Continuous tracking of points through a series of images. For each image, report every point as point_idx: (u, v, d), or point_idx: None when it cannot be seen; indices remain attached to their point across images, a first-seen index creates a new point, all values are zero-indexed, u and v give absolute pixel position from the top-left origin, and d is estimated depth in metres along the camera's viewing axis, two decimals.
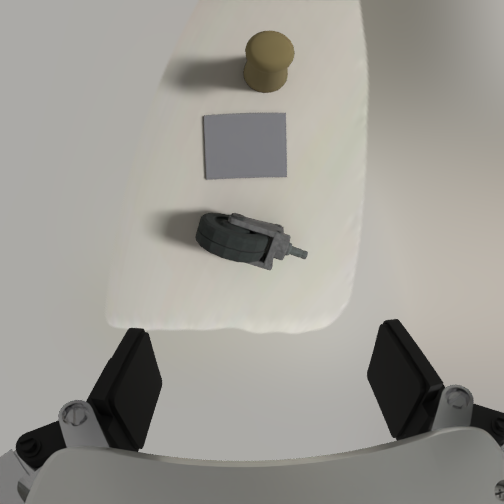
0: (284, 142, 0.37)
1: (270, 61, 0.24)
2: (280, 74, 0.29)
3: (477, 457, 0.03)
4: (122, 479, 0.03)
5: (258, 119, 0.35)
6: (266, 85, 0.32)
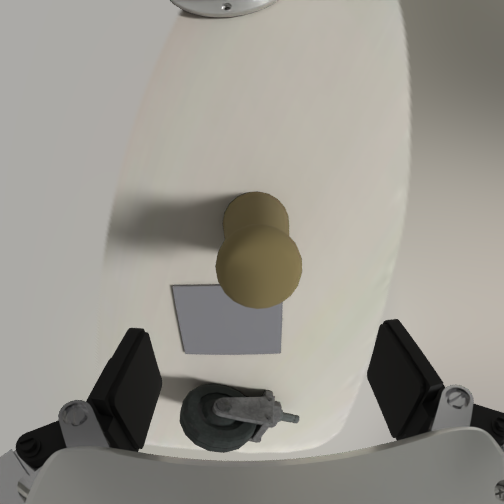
0: (279, 319, 0.29)
1: (258, 304, 0.17)
2: None
3: (477, 457, 0.03)
4: (122, 479, 0.03)
5: None
6: None
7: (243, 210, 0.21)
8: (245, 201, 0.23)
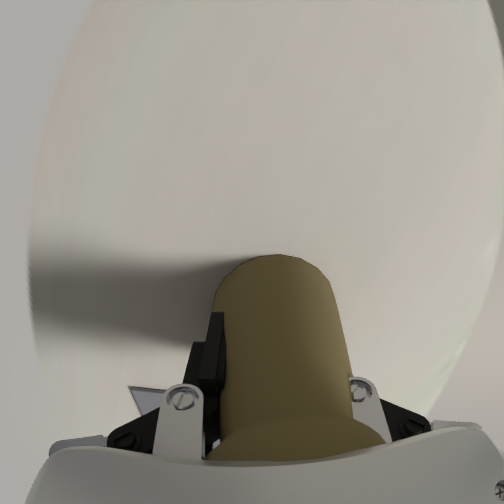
0: None
1: None
2: None
3: (477, 457, 0.03)
4: (122, 479, 0.03)
5: None
6: None
7: (254, 319, 0.09)
8: (257, 286, 0.11)
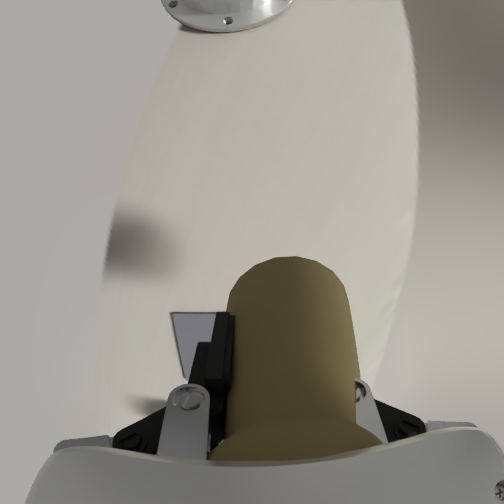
0: None
1: None
2: None
3: (477, 457, 0.03)
4: (122, 479, 0.03)
5: None
6: None
7: (266, 320, 0.09)
8: (271, 287, 0.11)
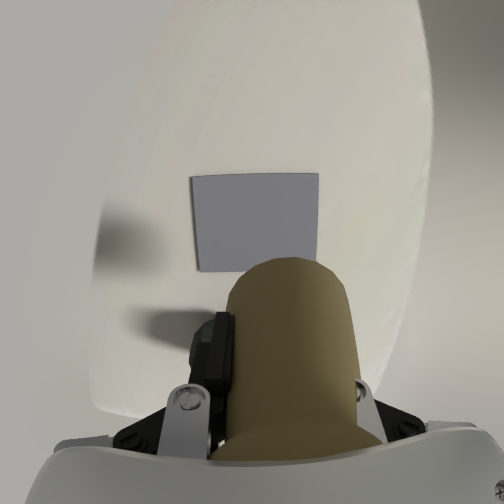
0: (314, 220, 0.25)
1: None
2: None
3: (477, 457, 0.03)
4: (122, 479, 0.03)
5: (277, 184, 0.24)
6: None
7: (266, 321, 0.09)
8: (271, 287, 0.11)
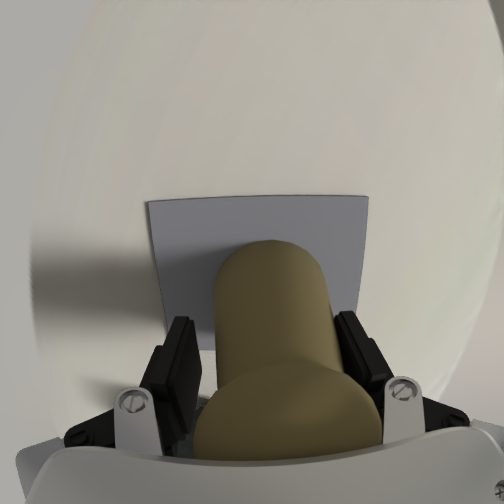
0: (357, 273, 0.15)
1: None
2: None
3: (477, 457, 0.03)
4: (122, 479, 0.03)
5: (298, 215, 0.14)
6: None
7: (248, 291, 0.11)
8: (251, 265, 0.12)
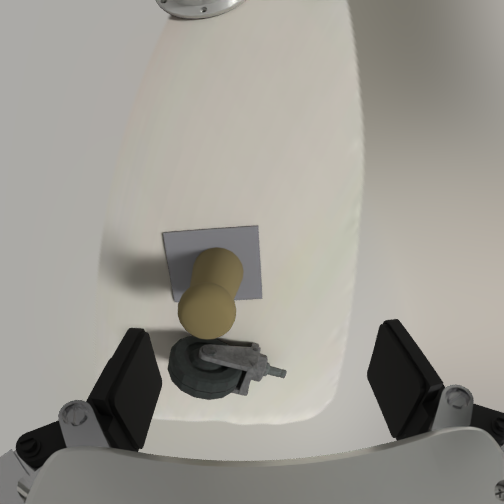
0: (257, 261, 0.33)
1: (206, 336, 0.24)
2: None
3: (477, 457, 0.03)
4: (122, 479, 0.03)
5: (226, 236, 0.32)
6: None
7: (201, 266, 0.29)
8: (204, 257, 0.31)
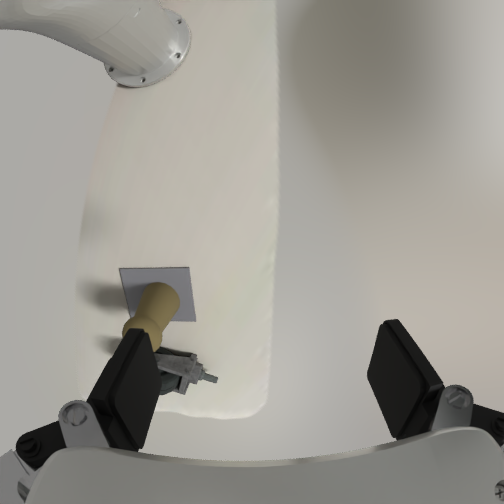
0: (190, 294, 0.41)
1: None
2: None
3: (477, 457, 0.03)
4: (122, 479, 0.03)
5: (165, 274, 0.40)
6: None
7: (143, 299, 0.37)
8: (148, 291, 0.39)
